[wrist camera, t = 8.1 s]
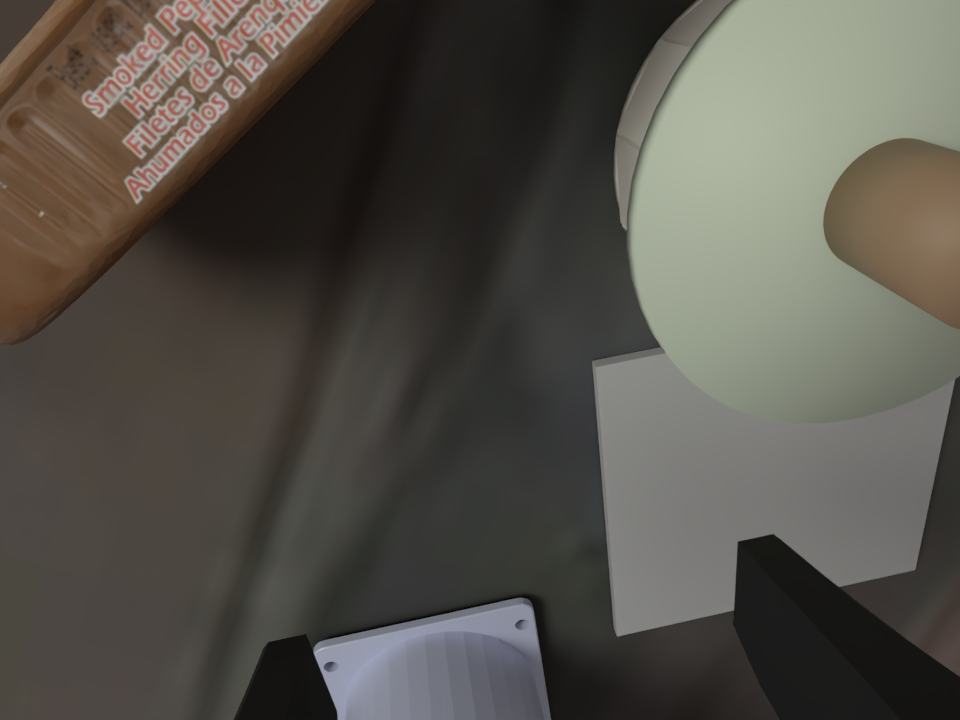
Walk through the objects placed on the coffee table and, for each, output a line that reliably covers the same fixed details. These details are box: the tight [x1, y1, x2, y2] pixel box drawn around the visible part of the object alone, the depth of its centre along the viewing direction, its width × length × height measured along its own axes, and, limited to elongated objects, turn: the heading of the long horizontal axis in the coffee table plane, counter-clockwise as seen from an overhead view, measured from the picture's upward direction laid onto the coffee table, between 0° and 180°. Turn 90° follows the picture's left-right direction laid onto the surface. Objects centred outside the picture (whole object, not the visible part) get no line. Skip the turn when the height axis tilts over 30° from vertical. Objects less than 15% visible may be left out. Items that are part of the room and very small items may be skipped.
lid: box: [627, 0, 960, 424], centre depth 14 cm, size 11×11×4 cm
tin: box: [0, 0, 376, 345], centre depth 13 cm, size 15×3×8 cm, turn 130°
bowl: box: [614, 0, 732, 232], centre depth 18 cm, size 9×9×4 cm
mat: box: [592, 347, 955, 636], centre depth 25 cm, size 12×12×1 cm
